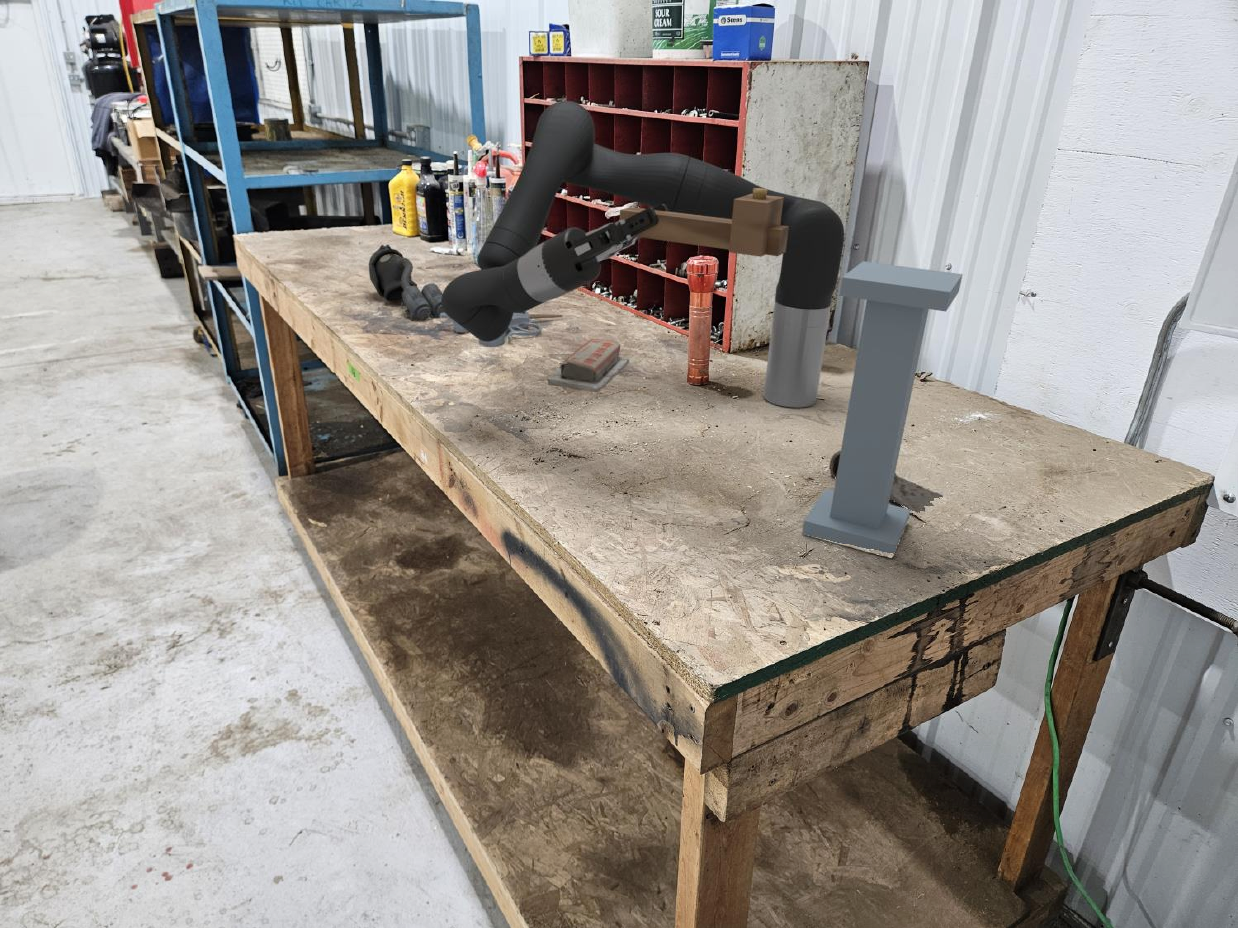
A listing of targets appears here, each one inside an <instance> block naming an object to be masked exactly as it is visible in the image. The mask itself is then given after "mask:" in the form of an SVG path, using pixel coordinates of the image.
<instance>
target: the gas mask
mask: <svg viewBox="0 0 1238 928" xmlns="http://www.w3.org/2000/svg"><path fill="white" fill-rule="evenodd" d="M413 269H414V266H413V263H412V262H411V260H410V259H408V258H407V257H404V256H403V253H401V252H400V251H399V250H397V249H395V248H392V247H391V246H390V245H389V244H386V245H384V244H381V245H380V247H379V248H378V249H377V250H376V251H375V252H374V253H373V254H371V256H370V258H369V261H368V272H369V273H368V274H369V278H370V279H369V280H370V281H371V283H372V285H373V286H374V288H375V290H376V293H378V295H379V296H381V297H383V299H385V300H387V301H388V302H398V301H399V300H400V301H401V303H400V306H401V307H405V313H406V314H408V315H409V314H410V318H409V319H410V321H418V319H424V320H427V319H429V318H431V319H432V318H437V317H438V316H440V313H445V312H444V310H443V308H442V304H441V298H442V294H443V291H442V290H441V289H440V287H439V285H438V284H436V283H434V282H431V283H426V284H424V285H423V287H422V289H421V290H420V289H419V287H418V285H417V283H416V282H415V281H413V280H412V279H413V278H412V277H413V276H412V273H413ZM400 301H399V302H400Z"/></svg>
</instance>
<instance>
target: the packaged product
mask: <svg viewBox="0 0 1238 928" xmlns="http://www.w3.org/2000/svg"><path fill="white" fill-rule="evenodd" d="M620 352H621V344H619V343H618V342H616V340H615V341H614V340H608V339H601V338H600V339H599V338H590V340H588V341H587V342H585V343H584V344H583V345H581V346H580V347H579V348H578V349H576V350H575V351H574V352H573V353H572V354H570V355H569V356H568V357H567V358H565V359H563V360H562V361H561V364H560V368H559V369H557V370H556V371H554V372H553V374H551V375H550V376H549V377H547V383H548V385H549V386H555V387H563V388H569V389H575V390H583V391H588V392H596V393H599V392H600V391H601V390H603V388H604V387H605V386H606V385H607V384H608V383H609V382H611V381H612V379H613V378H614V377H616V376H617V375H618V374H619V373H620V371H621V370H623V368H625V366H626V365H628V363H629V361H630V358H628V357H627V358H626V357H620Z"/></svg>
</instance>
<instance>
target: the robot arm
mask: <svg viewBox="0 0 1238 928" xmlns="http://www.w3.org/2000/svg"><path fill="white" fill-rule="evenodd" d="M535 129H536V130H535V132H534V135H533V139H532V142H531V146H530V148H529V151H528V154H527V156H526V158H525V162H524V163H523V165H522V166H523V167H522V169H521V171H520V172H519V173H520V174H519V176H518V178H517V179H516V182H515V183H514V186H513V188H512V190H511V193H510V194H509V196H508V199H507V200H506V202H505V204H504V205H503V208H502V209H501V211H500V214H498V216H497V219H496V221H495V222H494V224H493V226H492V228H491V230H490V232H489V233H488V235H487V237H486V240H485V241H484V242H483V245H482V246H481V249H480V251H479V252H478V255H477V259H476V261H477V265H478V267H479V270H474V271H469V272H466V273H463V274H461V275H459V276H457V277H455V278H454V279H453V280H451V281H450V282H449V283H448V284H447V285H446V287H445V288H444V290H443V291H442V293H443V294H442V298H441V304H442V308H443V310H444V312H445V313H446V314H447V315H448V316H449V317H450V318H451V319H450V320H454V321H455V322H456V323H458V324H459V325H460V326H462V327H463V328H464V329H466V330H467V331H469V334H471V335H472V336H474V337H475V338H477V339H478V340H479V339H480V340H481V341H485V342H490V341H493V340H496V339H497V338H499V337H500V336H502V335H503V334H504V332H505V331H506V330H507V328H508V327H509V325H510V322H511V320H512V317H513V313H522V312H525V311H527V312H528V311H530V310H531V309H533V308H535V307H538V306H540V305H542V304H544V303H547V302H548V301H551V300H555V299H558V298H560V297H563V296H564V295H566V294H569V293H570V292H572V291H575V290H577V289H579V288H581V287H583V286H585V285H587V284H589V283H591V282H594V281H595V280H596V279H597V278H599V276H600V273H601V270H602V261H603V260H608V259H611V258H613V257H614V256H616V255H618V254H619V252H621V251H622V250H624V249H627V248H629V247H630V246H633V245H635V243H636V241H638V240H639V239H642V237H635V235H637V234H639V233H641V232H643V231H645V230H647V229H649V228H651V227H653V226H655V225H657V224H658V218H657V216H656V213H655V210H658V211H667V212H675V213H683V214H691V215H700V216H708V217H716V218H724V219H732V215H733V205H734V199H737V198H740V197H743V196H746V195H749V194H753V189H754V188H762V189H767V195H768V196H777V197H784V199H783V207H782V215H781V223H780V225H782V226H789V229H788V236H787V244H786V252H785V253H783V254H782V259H781V266H780V274H779V278H778V282H777V284H776V288H775V294H774V295H775V296H774V304H773V305H774V306H773V312H772V321H771V322H772V323H771V330H770V336H769V347H768V355H767V365H766V370H765V376H764V378H765V379H764V385H763V387H764V388H763V398H764V400H766V401H768V403H769V402H770V403H771V404H774V405H777V406H780V407H786V408H805V407H810V406H813V405H814V404H816V402H817V396H818V392H819V391H818V390H819V384H820V379H821V371H822V365H823V358H824V352H825V347H826V346H825V344H826V340H827V339H826V338H827V333H828V327H829V326H828V324H829V317H830V313H831V305H832V301H833V300H832V299H833V294H834V292H835V290H836V287H837V284H838V277H839V272H840V267H841V260H842V255H843V248H844V243H845V229H844V223H843V220H842V219H841V217H840V216H839V215H838V213H837V212H836V211H835V210H834V209H832V208H831V207H830V206H829V205H828V204H826V203H825V202H822V201H818V200H814V199H811V198H809V199H808V198H804V197H800V196H796V195H790V194H786V193H781V192H778V191H774V190H772V189H769V188H765V187H762V186H760V185H757V184H756V183H753V182H751V181H750V180H747V179H745V178H743V177H741V176H739V175H737V174H735V173H734V172H731V171H728V170H727V169H723V168H721V167H718V166H716V165H714V164H711V163H708V162H706V161H703V160H700V159H698V158H694V157H691V156H689V155H686V154H681V153H676V152H659V153H643V154H640V153H639V154H631V153H629V154H628V153H623V152H619V151H616V150H613V149H610V148H608V147H604V146H602V145H600V144H597V143H595V139H596V132H595V131H596V129H595V124H594V120H593V117H592V115H591V114H590V112H589V111H588V109H586V108H585V107H584V106H583V105H581V104H579V103H578V102H575V101H572V100H571V101H570V100H561V101H556V102H554V103H552V104H550V105H549V106H547V107H546V109H544V111H543V112H542V113H541V115H540V116H539V119H538V121H537V124H536V128H535ZM562 183H565V184H569V185H573V186H578V187H582V188H586V189H591V190H594V191H595V190H596V191H600V192H604V193H608V194H611V195H615V196H618V197H621V198H624V199H627V200H629V201H633V202H635V203H639V204H641V205H645V206H648V207H647V208H644V209H645V210H643V211H641V212H639V213H637V214H636V215H634V216H632V217H630V218H628V219H627V221H626V219H624V220H623V219H621V220H620V219H619V220H618V221H616V222H609V223H606V224H603V226H600V227H599V228H596V229H592V230H590V231H588V232H586V231H585V230H583V229H581V228H579V227H576V226H575V227H569V228H566V229H565V230H563V231H562V232H558V233H557V234H556V235H554V236H552V237H550V238H548V239H547V240H545V241H542V242H541V243H539V240H540V238H541V236H542V233H543V230H544V227H545V225H546V222H547V219H548V216H549V213H550V211H551V208H552V205H553V202H554V200H555V198H556V195H557V194H558V191H559V189H560V186H561V185H562ZM632 234H633V235H632ZM538 243H539V244H538Z"/></svg>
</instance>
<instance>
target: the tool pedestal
mask: <svg viewBox="0 0 1238 928" xmlns="http://www.w3.org/2000/svg"><path fill="white" fill-rule="evenodd" d="M962 278H963V273H956V272H949V271H940V270H934V269H925V268H917V267H910V266H903V265H894V264H886V263H879V262H871V261H861V262H860V263H859V264H858V265H857V266H855V267H854V268H852V269H851V270H850V271H848V272H847V273H846V274H845V275H843V276H842V277H841V281H840V288H839V294H838V295H839V297H846V298H853V299H857V300H859V299H860V300H864V301H865V300H866V302H865V307H864V314H863V320H862V326H861V331H860V336H859V337H860V338H859V342H858V350H857V355H856V360H855V366H854V372H853V378H852V379H853V380H852V385H851V390H850V391H851V392H850V394H849V395H850V397H849V401H848V408H847V413H846V418H845V419H846V420H845V427H844V432H843V437H842V443H841V449H840V451H841V453H840V459H839V465H838V471H837V477H836V479H835V483H834V490H833V489H829V488H825V489H824V490H823V492H822V493H821V495H820V496H819V498H818V499H817V501H816V502H815V504H814V505H813V507H812V508H811V509H810V511H809V513H808V514H807V516H806V517H805V518H804V521H803V526H802V534H805V535H809V536H813V537H818V538H821V539H826V540H830V541H833V542H837V543H842V544H850V545H854V546H857V547H862V548H866V549H874V550H879V551H882V552H887V553H893V554H894V552H895V550H896V547H897V545H898V543H899V540H900V538H901V536H902V533H903V531H904V529H905V526H906V524H907V521H908V522H909V520H910V516H911V514H910V511H911V510H910V509H906V508H903V507H901V506H899V505H898V506H897V505H893V504H890V501H891V500H890V495H891V490H892V485H893V480H894V476H895V473H896V471H897V466H898V465H897V464H898V461H899V456H900V452H901V450H900V449H901V446H902V440H903V436H904V433H905V432H904V431H905V426H906V422H907V417H908V416H907V415H908V412H909V407H910V402H911V398H912V393H913V387H914V383H915V377H916V374H917V373H916V372H917V367H918V363H919V360H920V359H919V358H920V354H921V353H920V352H921V349H922V344H923V338H924V334H925V328H926V325H927V321H928V320H927V319H928V315H929V310H934V311H940V312H947V311H948V309H949V308H950V306H951V304H952V303H953V301H954V300H955V299H956V297H957V296H958V294H959V292H960V288H961V283H962ZM908 519H909V520H908ZM907 525H908V524H907ZM906 527H907V526H906ZM905 530H906V529H905ZM904 532H905V531H904ZM802 534H801V535H802ZM903 534H904V533H903ZM805 535H804V536H805ZM809 536H808V537H809ZM902 537H903V536H902ZM901 539H902V538H901ZM900 541H901V540H900ZM899 544H900V543H899ZM898 546H899V545H898ZM896 551H897V550H896ZM895 553H896V552H895Z"/></svg>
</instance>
